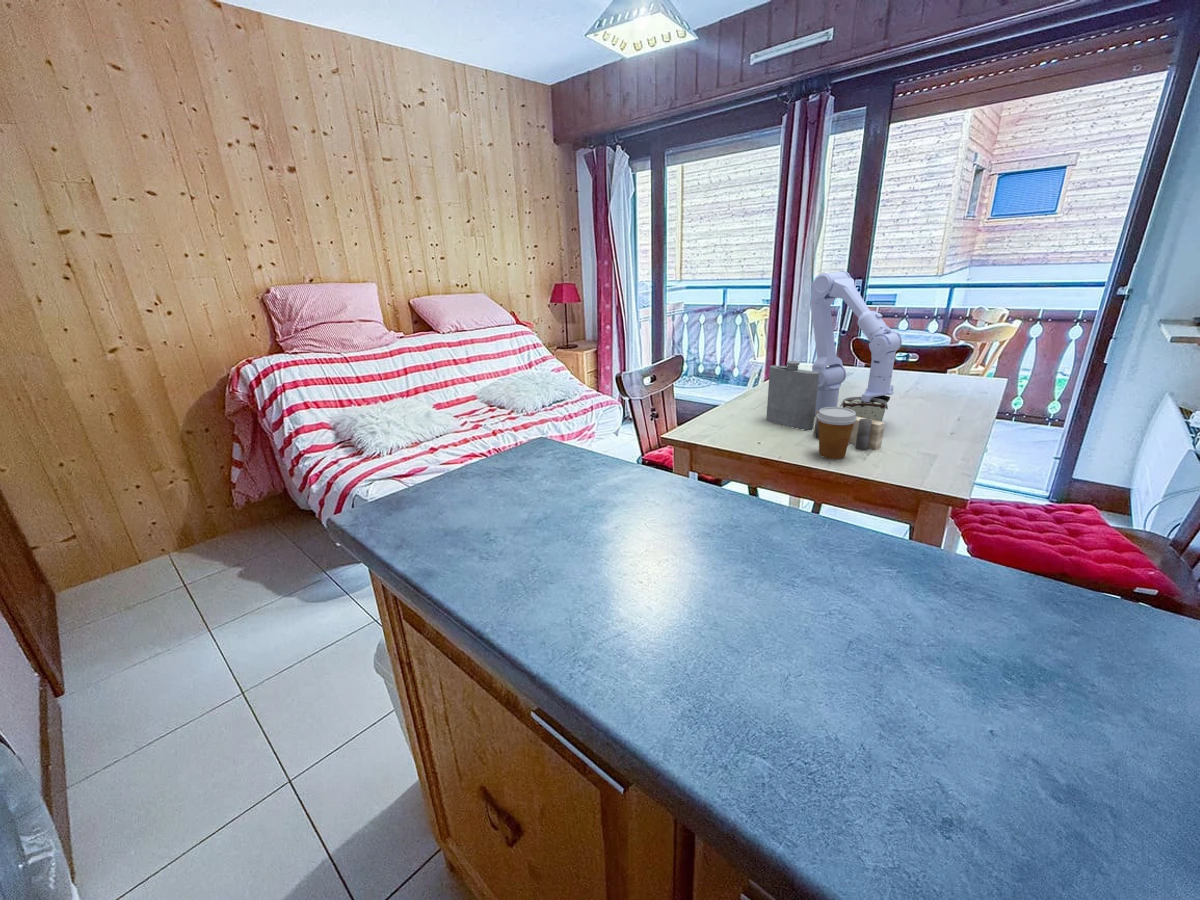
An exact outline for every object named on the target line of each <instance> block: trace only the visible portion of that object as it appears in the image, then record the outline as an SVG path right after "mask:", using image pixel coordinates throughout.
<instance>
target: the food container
mask: <svg viewBox="0 0 1200 900" xmlns="http://www.w3.org/2000/svg"><path fill="white" fill-rule="evenodd" d="M861 398H862V396H851V397H850V396H849V397H845V398H844V399H842V401H841V403H840V405H839V407H842V408H847V409H851V410H853V411H855V413H856V416H857V417H862V418H866V419H871V420H875V421H880V422H883V419H884V416H885V412H886V410H889V405H888V402H886V401H884V400H881V399H877V398H873V399H871V400H870V401H869V402H865V401H861Z"/></svg>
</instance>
